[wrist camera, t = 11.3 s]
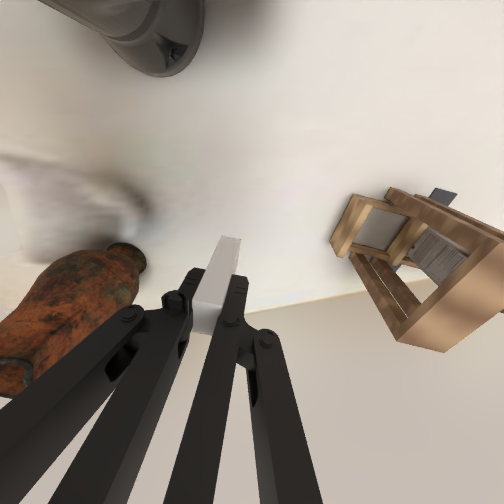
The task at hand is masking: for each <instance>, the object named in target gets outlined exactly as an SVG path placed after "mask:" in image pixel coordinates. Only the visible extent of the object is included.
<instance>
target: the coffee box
mask: <svg viewBox="0 0 504 504" xmlns="http://www.w3.org/2000/svg"><path fill="white" fill-rule="evenodd" d="M471 254H472V253H471V252H469V251H468V250H466V249H465V248H463V247H461V246H460V245H458V244H457V243H455V242H454V241H452V240H450V239H449V238H447V237H446V236H444V235H443V234H441V233H439V232H438V231H436V230H435V229H433V228H431V227H430V226H428V227H427V228H426V230H425V231H424V232H423V233H422V235H421V236H420V237H419V239H418V240H417V241H416V242H415V244H414V245H413V246H412V247H411V249H410V250H409V251H408V253H407V254H406V255H407V256H408V257H409V258H410V259H411V260H412V261H413V262H414V263H415V264H416V265H417V266H418V267H419V268H420V269H421V270H422V271H423V272H424V273H425V274H426V275H427V276H429V277H430V278H431V279H432V280H433V281H434V282H435V283H436V284H437V285H438V286H440V285H441V284H442V283H443V282H444V281H445V280H446V279H447V278H448V277H449V276H450V275H451V274H452V273H453V272H454V271H455V270H456V269H457V268H458V267H459V266H460V265H461V264H462V263H463V262H464V261H465V260H466V259H467V258H468V257H469V256H470V255H471ZM500 312H501V313H504V309H503V310H501V311H500Z"/></svg>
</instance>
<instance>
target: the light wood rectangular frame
mask: <svg viewBox="0 0 504 504" xmlns="http://www.w3.org/2000/svg"><path fill="white" fill-rule="evenodd" d="M372 207H374V208H378V209H382V210H385V211H389V212H393V213H397V214H400V215H404V216H408V217H410V219H409V220H408V222H407V223H406V224H405V226H404V227H403V229H402V230H401V231H400V233H399V234H398V236H397V237H396V239H395V240H394V241H393V243H392V244H391V246H390V247H389V248H388V250H387V251H386V252H385V251H381V250H377V249H373V248H370V247H366V246H362V245H358V244H354V243H352V241H353V240H354V238H355V236H356V235H357V233H358V231H359V229H360V228H361V226H362V224H363V223H364V221H365V219H366V217H367V216H368V214H369V212H370V211H371V209H372ZM427 227H428V225H427V224H425V223H424V222H422V221H420V220H419V219H417V218H416V217H414V216H413V215H411V214H409V213H408V212H406V211H405V210H403V209H402V208H400V207H398V206H397V205H393V204H389V203H386V202H382V201H378V200H375V199H371V198H367V197H363V196H360V195H356V194H354V195H353V197H352V199H351V201H350V203H349V205H348V207H347V208H346V210H345V212H344V214H343V216H342V218H341V220H340V222H339V224H338V226H337V228H336V230H335V232H334V234H333V236H332V238H331V240H330V244H331V246H332V248H333V250H334V252H335V254H336V256H337V257H340V258H343V257H344V255H345V253H346V252H347V250H348V251H352V252H356V253H360V254H364V255H368V256H372V257H376V258H379V259H383V260H387V261H388V262H389V263H390V264H391V265H394V266H397V265H398V264H403V265H407V266H410V267H414V268H418V269H420V268H419V267H418V266H417V265H416V264H415V263H414V262H413V261H412V260H411V259H410V258H408V257H404V256H405V255H406V254H407V253H408V251H409V250H410V249H411V247H412V246H413V245H414V244H415V242H416V241H417V240H418V239H419V237H420V236H421V235H422V233H423V232H424V231H425V230H426V228H427Z"/></svg>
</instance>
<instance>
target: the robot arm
mask: <svg viewBox="0 0 504 504" xmlns="http://www.w3.org/2000/svg"><path fill="white" fill-rule="evenodd" d="M38 1H40V2H42V3H44V4H46V5H48V6H49V7H51V8H53V9H55V10H57V11H59V12H61V13H63V14H64V15H66V16H68V17H70V18H72V19H74V20H76V21H78V22H79V23H81V24H83V25H85V26H87V27H89V28H91V29H93V30H95V31H96V32H99V33H100V34H101V35H102V37H103V38H104V39H105V40H106V41H107V42H108V43H109V45H110V46H111V47H112V48H113V49H114V51H115V52H116V53H117V54H118V55H119V56H120V57H121V58H122V59H123V60H125V61H126V62H127V63H129V64H130V65H131V66H133V67H134V68H136V69H138V70H140V71H143V72H145V73H147V74H150V75H153V76H158V77H167V76H172V75H175V74H177V73H179V72H180V71H182V70H183V69H184V68H185V67H186V66H187V65H188V64H189V63H190V62H191V60H192V59H193V57H194V56H195V54H196V52H197V50H198V47H199V44H200V41H201V37H202V33H203V26H204V0H38ZM240 242H241V239H237V238H231V237H226V236H221V238H220V240H219V243H218V245H217V247H216V249H215V251H214V253H213V256H212V258H211V260H210V262H209V264H208V267H207V269H206V270H205V269H200V268H195V267H194V268H193V269H192V270H190V271H189V272H188V274H187V275H186V277H185V279H184V281H183V283H182V284H181V286H180V288H179V289H178V290H173V291H169V292H167V293H165V294H164V295H163V296H162V297H161V299H162V306H163V308H161V309H156V310H145V311H144V309H143V308H142V307H141V306H140V305H128V306H125V307H123V308H121V309H119V310H118V311H117V312H116V313H114V314H113V315H112V316H111V317H110V318H108V319H107V320H106V321H105V322H104V323H102V324H101V325H100V326H99V327H98V328H97V329H95V330H94V331H93V332H92V333H91V334H89V335H88V336H87V337H86V338H85V339H83V340H82V341H81V342H80V343H79V344H78V345H76V346H75V347H74V348H73V349H72V350H70V351H69V352H68V353H67V354H66V355H64V356H63V357H62V358H61V359H60V360H59V361H57V362H56V363H55V364H54V365H53V366H51V367H50V368H49V369H48V370H47V371H46V372H44V373H43V374H42V375H41V376H40V377H38V378H37V379H36V380H35V381H34V382H32V383H31V384H30V385H29V386H28V387H27V388H25V389H24V390H23V391H22V392H21V393H19V394H18V395H17V396H16V397H15V398H13V399H12V400H11V401H10V402H9V403H8V404H6V405H5V406H4V407H3V408H2V409H1V410H0V504H19V503H20V501H21V500H22V499H23V498H24V497H25V496H26V494H27V493H28V492H29V491H30V490H31V488H32V487H33V486H34V485H35V484H36V482H37V481H38V480H39V479H40V478H41V476H42V475H43V474H44V473H45V472H46V471H47V469H48V468H49V467H50V466H51V464H52V463H53V462H54V461H55V460H56V459H57V457H58V456H59V455H60V454H61V453H62V451H63V450H64V449H65V448H66V446H68V444H69V443H70V442H71V441H72V440H73V438H74V437H75V436H76V435H77V434H78V432H79V431H80V430H81V429H82V428H83V426H84V425H85V424H86V423H87V422H88V420H89V419H90V418H91V417H92V416H93V414H94V413H95V412H96V411H97V410H98V409H99V407H100V406H101V405H102V404H103V403H104V401H105V400H106V399H107V398H108V397H109V395H110V394H111V393H112V392H113V391H114V392H113V394H112V395H111V397H110V399H109V401H108V402H107V404H106V406H105V407H104V409H103V411H102V412H101V414H100V416H99V418H98V419H97V421H96V423H95V424H94V426H93V428H92V429H91V431H90V433H89V435H88V436H87V438H86V440H85V441H84V443H83V445H82V446H81V448H80V450H79V451H78V453H77V455H76V457H75V458H74V460H73V462H72V463H71V465H70V467H69V468H68V470H67V472H66V474H65V475H64V477H63V479H62V480H61V482H60V484H59V486H58V487H57V489H56V491H55V492H54V494H53V496H52V497H51V499H50V501H49V502H48V504H127V501H128V498H129V496H130V493H131V491H132V488H133V486H134V483H135V480H136V478H137V475H138V472H139V470H140V467H141V465H142V462H143V460H144V457H145V454H146V452H147V449H148V447H149V444H150V441H151V439H152V436H153V433H154V431H155V428H156V426H157V423H158V421H159V418H160V415H161V413H162V410H163V408H164V405H165V402H166V400H167V397H168V395H169V392H170V389H171V387H172V384H173V382H174V379H175V377H176V374H177V371H178V369H179V366H180V363H181V361H182V358H183V356H184V353H185V351H186V348H187V345H188V343H189V338H190V337H189V336H190V332H191V330H192V332H195V333H200V334H206V335H211V336H212V339H211V342H210V346H209V350H208V352H207V356H206V359H205V363H204V366H203V369H202V373H201V376H200V380H199V383H198V386H197V390H196V393H195V397H194V400H193V403H192V407H191V410H190V414H189V417H188V420H187V424H186V427H185V431H184V434H183V438H182V441H181V444H180V448H179V451H178V454H177V458H176V461H175V465H174V468H173V471H172V475H171V478H170V482H169V485H168V488H167V492H166V495H165V499H164V502H163V504H213V499H214V494H215V488H216V482H217V476H218V469H219V463H220V457H221V451H222V445H223V439H224V432H225V427H226V421H227V415H228V409H229V403H230V397H231V391H232V385H233V378H234V372H235V366H236V363H238V364H239V365H241V366H243V367H245V368H246V374H247V384H248V393H249V402H250V411H251V422H252V430H253V440H254V450H255V460H256V468H257V479H258V487H259V498H260V504H323V502H322V498H321V494H320V490H319V487H318V483H317V479H316V476H315V471H314V468H313V464H312V460H311V456H310V453H309V449H308V445H307V441H306V437H305V433H304V430H303V426H302V422H301V418H300V415H299V411H298V407H297V403H296V399H295V396H294V392H293V388H292V384H291V380H290V377H289V373H288V369H287V365H286V361H285V358H284V354H283V350H282V347H281V342H280V339H279V337H278V335H277V334H276V333H275V332H274V331H272V330H269V329H261V330H259V331H258V330H256V329H254V328H253V327H251V326H250V325H248V324H247V323H246V321H245V319H244V309H245V303H246V297H247V291H248V285H249V282H248V279H247V277H244V276H239V275H235V271H236V267H237V261H238V255H239V248H240ZM115 388H116V389H115Z"/></svg>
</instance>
